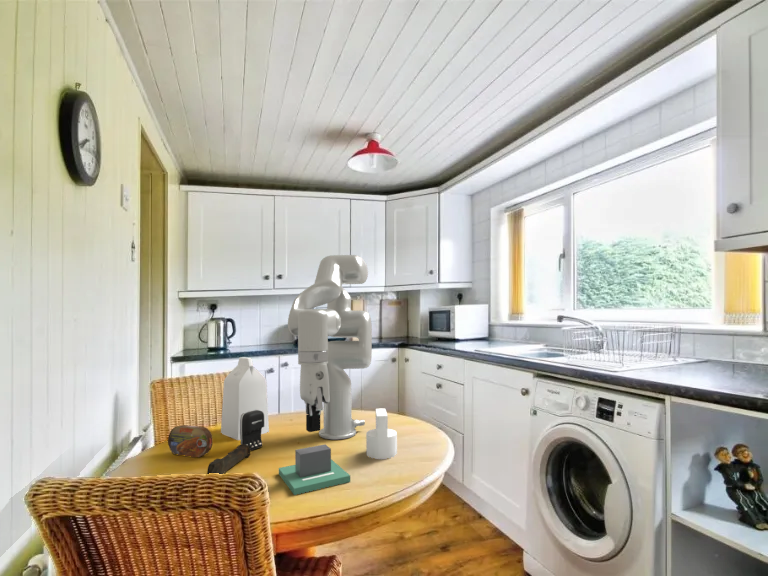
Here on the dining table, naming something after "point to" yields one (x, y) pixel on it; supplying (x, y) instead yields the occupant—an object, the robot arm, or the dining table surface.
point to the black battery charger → (251, 428)
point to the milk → (243, 397)
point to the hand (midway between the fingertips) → (313, 430)
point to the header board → (313, 479)
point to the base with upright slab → (381, 438)
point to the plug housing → (312, 460)
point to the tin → (190, 440)
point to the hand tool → (229, 460)
